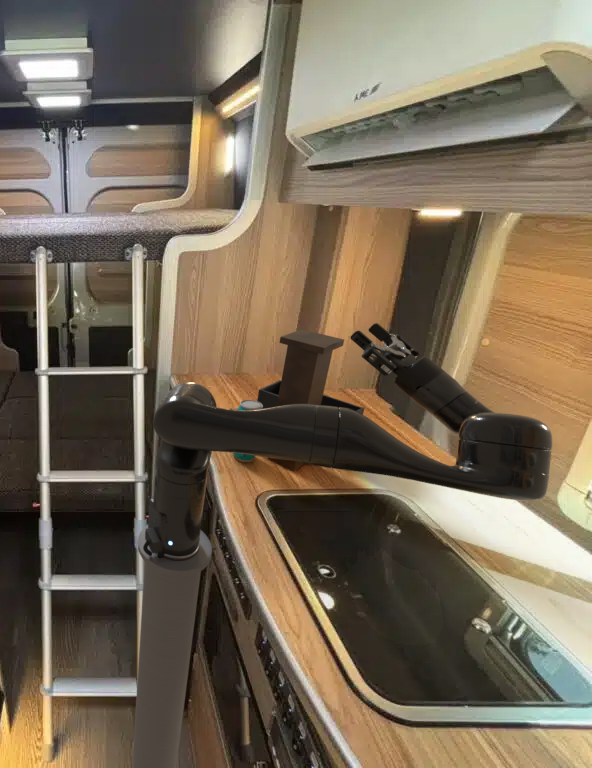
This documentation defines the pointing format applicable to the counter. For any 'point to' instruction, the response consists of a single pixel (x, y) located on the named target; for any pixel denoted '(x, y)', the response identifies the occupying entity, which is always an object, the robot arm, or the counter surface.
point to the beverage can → (246, 406)
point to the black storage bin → (271, 394)
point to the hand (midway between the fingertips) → (363, 329)
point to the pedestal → (305, 372)
